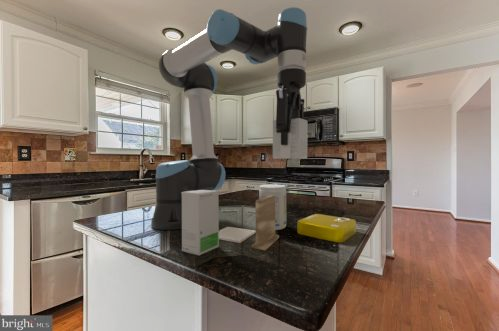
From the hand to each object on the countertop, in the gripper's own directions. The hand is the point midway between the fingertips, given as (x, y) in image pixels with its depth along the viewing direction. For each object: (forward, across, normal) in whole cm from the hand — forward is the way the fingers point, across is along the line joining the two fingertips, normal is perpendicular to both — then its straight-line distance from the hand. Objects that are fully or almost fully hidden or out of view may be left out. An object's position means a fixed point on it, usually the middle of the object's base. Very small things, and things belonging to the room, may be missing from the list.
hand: (290, 157), depth 66 cm
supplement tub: (+25, +14, +13) cm, 31 cm away
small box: (0, 0, 0) cm, 0 cm away
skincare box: (+25, -15, +19) cm, 35 cm away
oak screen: (+24, -1, +7) cm, 25 cm away
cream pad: (+25, -1, +19) cm, 31 cm away
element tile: (+25, +18, -5) cm, 32 cm away
